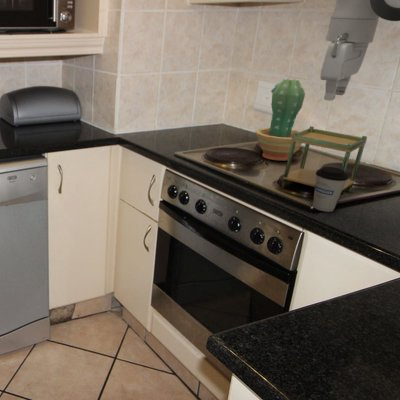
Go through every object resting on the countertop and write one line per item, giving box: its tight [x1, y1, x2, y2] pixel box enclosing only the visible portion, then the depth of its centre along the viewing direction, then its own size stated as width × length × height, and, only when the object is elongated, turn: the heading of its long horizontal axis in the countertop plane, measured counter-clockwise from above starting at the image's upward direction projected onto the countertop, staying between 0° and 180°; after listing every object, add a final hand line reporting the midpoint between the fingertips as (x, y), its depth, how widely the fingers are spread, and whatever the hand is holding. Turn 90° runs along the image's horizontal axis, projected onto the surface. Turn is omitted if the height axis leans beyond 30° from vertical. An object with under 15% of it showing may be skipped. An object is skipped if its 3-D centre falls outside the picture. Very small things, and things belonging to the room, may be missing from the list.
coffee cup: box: [312, 166, 349, 212], centre depth 117 cm, size 7×7×10 cm
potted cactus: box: [255, 78, 306, 162], centre depth 154 cm, size 15×15×25 cm
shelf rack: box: [280, 125, 368, 193], centre depth 128 cm, size 14×12×16 cm
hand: (334, 97), depth 109 cm, fingers open, 8 cm apart
